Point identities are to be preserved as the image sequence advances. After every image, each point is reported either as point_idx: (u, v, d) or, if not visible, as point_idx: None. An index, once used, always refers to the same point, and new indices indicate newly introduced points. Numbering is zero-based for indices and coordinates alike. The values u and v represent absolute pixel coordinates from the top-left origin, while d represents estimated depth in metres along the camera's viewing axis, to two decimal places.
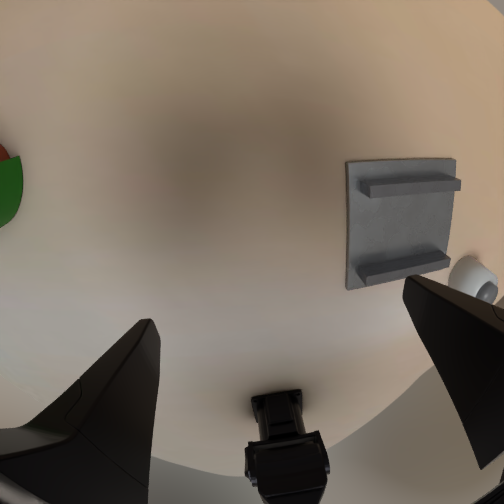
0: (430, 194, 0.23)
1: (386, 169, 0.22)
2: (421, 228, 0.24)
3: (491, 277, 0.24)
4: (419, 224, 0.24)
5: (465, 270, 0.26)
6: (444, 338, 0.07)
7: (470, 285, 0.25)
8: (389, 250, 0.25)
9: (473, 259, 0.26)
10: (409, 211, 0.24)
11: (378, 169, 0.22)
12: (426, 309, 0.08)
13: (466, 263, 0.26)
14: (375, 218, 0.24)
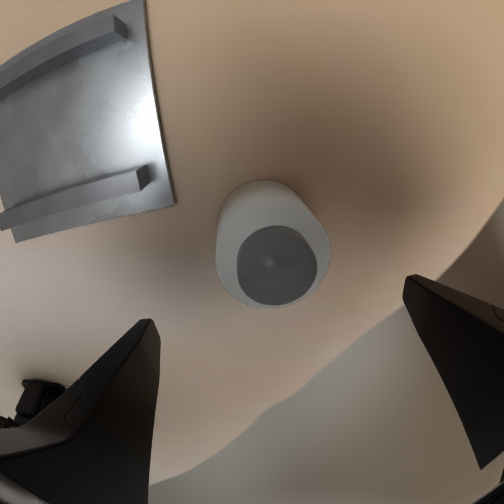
0: (88, 67, 0.11)
1: None
2: (84, 128, 0.12)
3: (280, 213, 0.11)
4: (77, 121, 0.12)
5: (228, 206, 0.14)
6: (444, 338, 0.07)
7: (218, 236, 0.13)
8: (42, 176, 0.13)
9: (266, 184, 0.14)
10: (55, 106, 0.12)
11: None
12: (426, 309, 0.08)
13: (239, 191, 0.14)
14: (12, 132, 0.12)
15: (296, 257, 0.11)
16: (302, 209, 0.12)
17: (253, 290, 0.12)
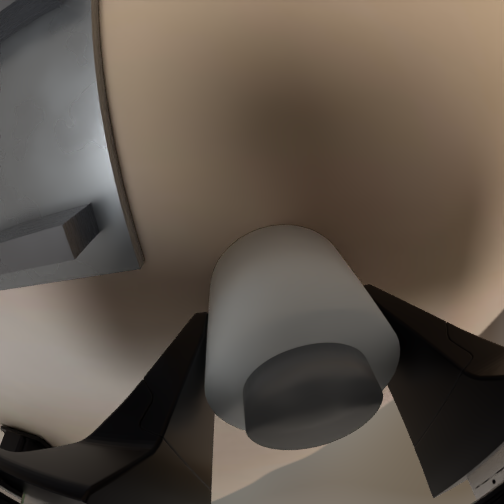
0: (11, 53, 0.05)
1: None
2: (5, 147, 0.07)
3: (328, 324, 0.06)
4: None
5: (225, 279, 0.08)
6: None
7: (209, 348, 0.07)
8: None
9: (290, 237, 0.09)
10: None
11: None
12: None
13: (245, 250, 0.09)
14: None
15: (352, 400, 0.05)
16: (368, 312, 0.06)
17: (272, 440, 0.06)
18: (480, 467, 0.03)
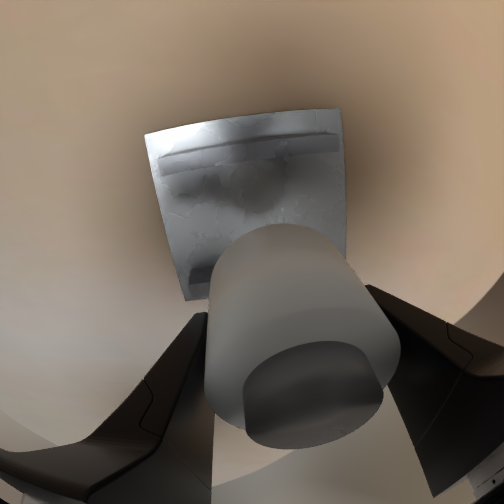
0: (293, 163, 0.17)
1: (203, 134, 0.16)
2: (286, 216, 0.19)
3: (328, 322, 0.06)
4: (280, 210, 0.18)
5: (225, 278, 0.08)
6: None
7: (208, 347, 0.07)
8: None
9: (290, 235, 0.09)
10: (257, 191, 0.18)
11: (190, 136, 0.16)
12: None
13: (245, 249, 0.09)
14: (198, 204, 0.18)
15: (352, 399, 0.05)
16: (368, 310, 0.06)
17: (272, 439, 0.06)
18: (480, 467, 0.03)
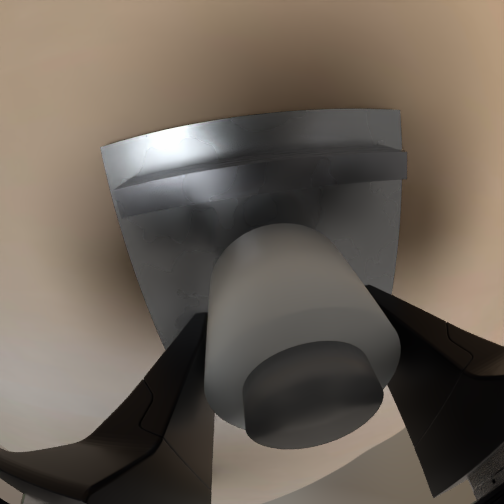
0: (332, 192, 0.11)
1: (191, 144, 0.10)
2: None
3: (328, 322, 0.06)
4: None
5: (225, 278, 0.08)
6: None
7: (208, 346, 0.07)
8: None
9: (290, 235, 0.09)
10: None
11: (169, 147, 0.10)
12: None
13: (245, 248, 0.09)
14: (186, 253, 0.12)
15: (352, 398, 0.05)
16: (369, 309, 0.06)
17: (272, 439, 0.06)
18: (480, 467, 0.03)
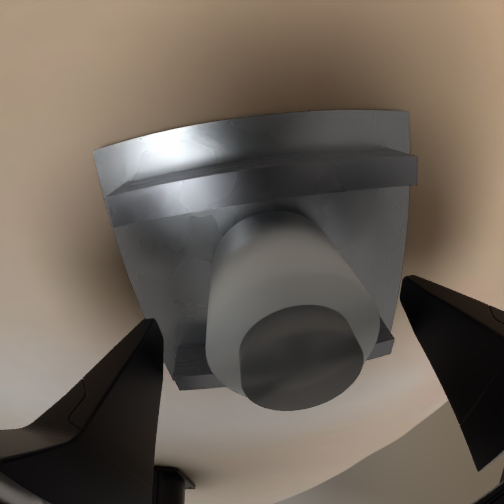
0: (337, 197, 0.11)
1: (188, 147, 0.09)
2: None
3: (311, 287, 0.07)
4: None
5: (224, 256, 0.09)
6: (441, 339, 0.07)
7: (210, 313, 0.08)
8: None
9: (282, 220, 0.10)
10: None
11: (165, 150, 0.09)
12: (423, 310, 0.08)
13: (242, 232, 0.10)
14: (183, 262, 0.11)
15: (334, 357, 0.07)
16: (346, 278, 0.07)
17: (265, 398, 0.07)
18: None
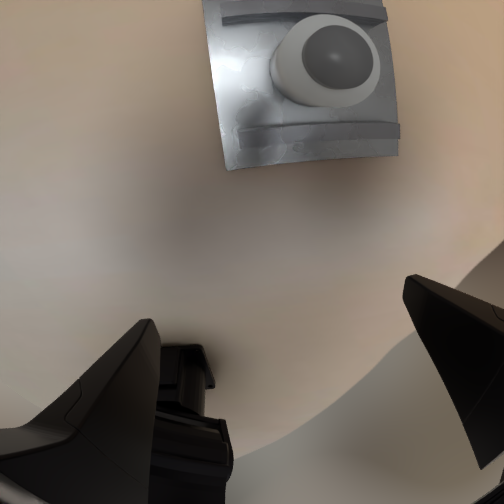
0: None
1: None
2: None
3: (337, 22, 0.10)
4: None
5: None
6: (444, 338, 0.07)
7: (282, 41, 0.11)
8: (287, 107, 0.16)
9: None
10: None
11: None
12: (426, 309, 0.08)
13: None
14: (252, 58, 0.15)
15: (355, 46, 0.10)
16: (353, 24, 0.10)
17: (320, 68, 0.10)
18: None
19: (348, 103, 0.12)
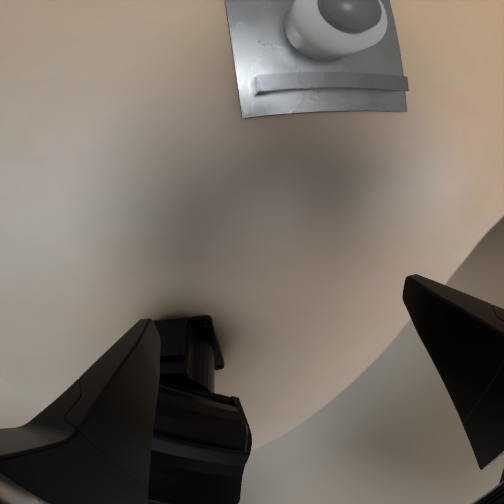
0: None
1: None
2: None
3: None
4: None
5: None
6: (444, 338, 0.07)
7: None
8: (301, 60, 0.15)
9: None
10: None
11: None
12: (426, 309, 0.08)
13: None
14: (267, 16, 0.14)
15: None
16: None
17: (336, 11, 0.10)
18: None
19: (361, 46, 0.11)
